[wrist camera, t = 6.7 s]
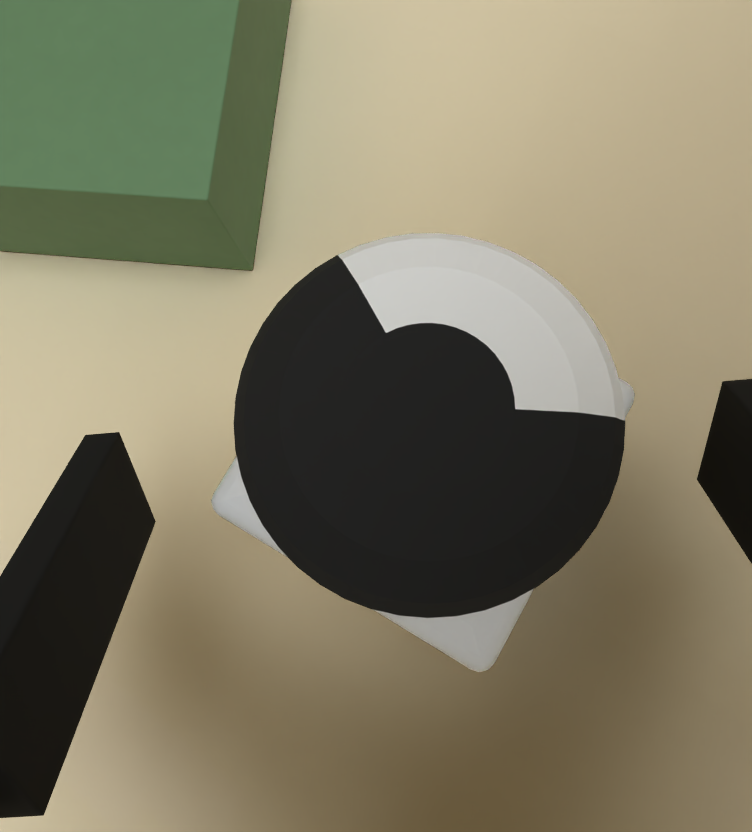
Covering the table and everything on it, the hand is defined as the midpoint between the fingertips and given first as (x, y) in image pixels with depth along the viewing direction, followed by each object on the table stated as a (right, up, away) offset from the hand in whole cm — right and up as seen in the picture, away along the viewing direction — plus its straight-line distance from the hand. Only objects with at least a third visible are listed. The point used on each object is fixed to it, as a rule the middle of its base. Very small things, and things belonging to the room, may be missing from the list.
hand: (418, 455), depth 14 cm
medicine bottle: (0, -1, +7) cm, 7 cm away
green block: (-10, +12, +9) cm, 18 cm away
